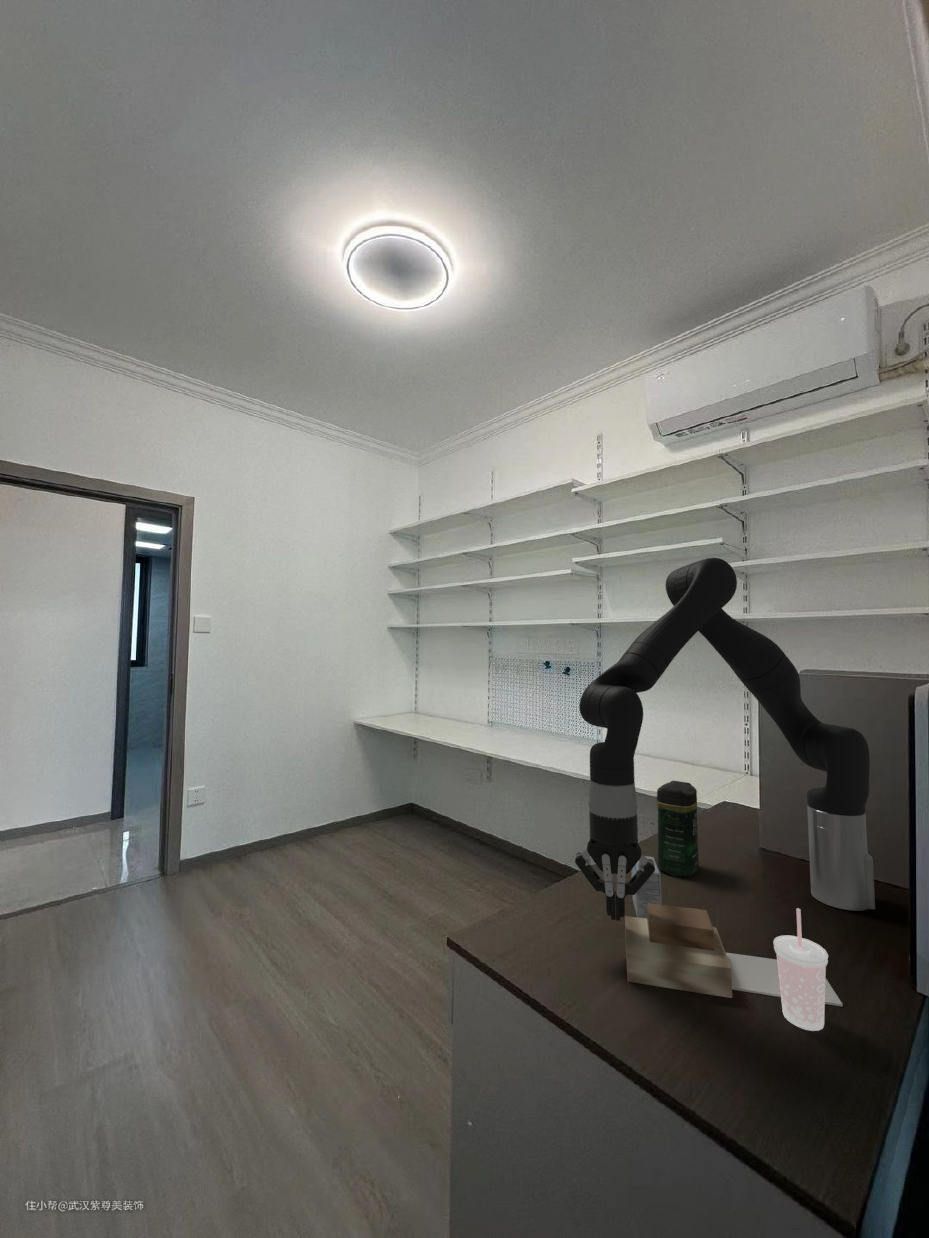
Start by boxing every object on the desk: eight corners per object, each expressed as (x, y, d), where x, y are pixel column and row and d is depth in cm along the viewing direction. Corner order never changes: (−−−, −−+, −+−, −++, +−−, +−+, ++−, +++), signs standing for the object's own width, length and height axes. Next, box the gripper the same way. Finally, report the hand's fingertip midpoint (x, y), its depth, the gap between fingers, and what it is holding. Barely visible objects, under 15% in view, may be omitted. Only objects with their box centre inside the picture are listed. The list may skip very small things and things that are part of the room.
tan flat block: (717, 953, 83) (716, 927, 83) (732, 998, 72) (731, 968, 73) (625, 940, 87) (624, 915, 87) (627, 981, 76) (626, 953, 76)
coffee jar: (693, 881, 108) (690, 791, 109) (654, 872, 113) (651, 785, 114) (703, 865, 116) (700, 781, 117) (666, 857, 121) (663, 776, 122)
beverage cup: (804, 1039, 65) (799, 923, 66) (765, 1006, 71) (761, 900, 72) (843, 1030, 66) (838, 917, 67) (802, 998, 72) (797, 895, 73)
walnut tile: (707, 929, 83) (706, 909, 83) (714, 950, 77) (713, 929, 77) (647, 921, 85) (646, 902, 85) (649, 941, 79) (649, 921, 80)
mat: (817, 967, 79) (817, 965, 79) (842, 1006, 71) (842, 1004, 71) (717, 953, 83) (717, 951, 83) (729, 988, 74) (729, 986, 74)
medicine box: (663, 923, 92) (661, 873, 92) (636, 921, 93) (635, 871, 93) (655, 902, 100) (654, 856, 100) (631, 900, 101) (630, 854, 101)
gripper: (654, 804, 86) (657, 911, 86) (573, 799, 90) (575, 901, 89) (657, 819, 79) (661, 936, 78) (569, 812, 83) (572, 924, 82)
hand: (615, 917), depth 84 cm, fingers closed
